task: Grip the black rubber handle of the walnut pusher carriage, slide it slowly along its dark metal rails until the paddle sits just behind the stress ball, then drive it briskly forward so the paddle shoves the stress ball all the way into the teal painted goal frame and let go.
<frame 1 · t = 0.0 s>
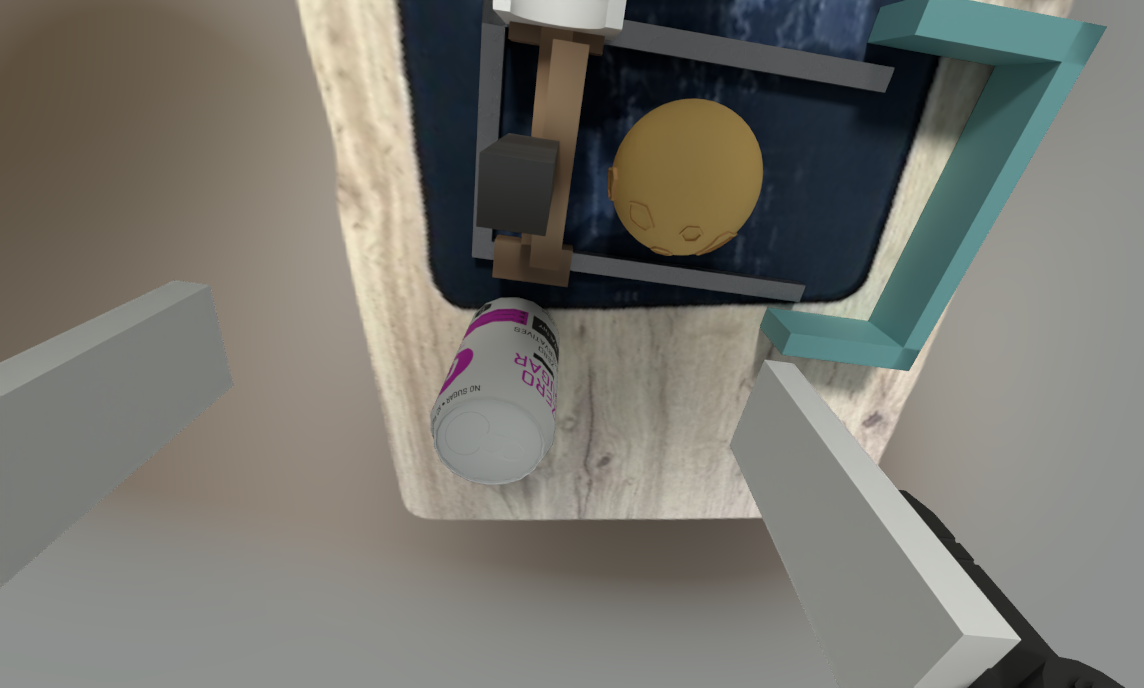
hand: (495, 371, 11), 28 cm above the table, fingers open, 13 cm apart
carriage: (538, 168, 27), point 9 cm above the table, slide at 0.0 cm
stress ball: (667, 169, 36), on the table
supplement can: (514, 334, 43), on the table
rails: (662, 169, 36), on the table
goal: (876, 202, 37), on the table
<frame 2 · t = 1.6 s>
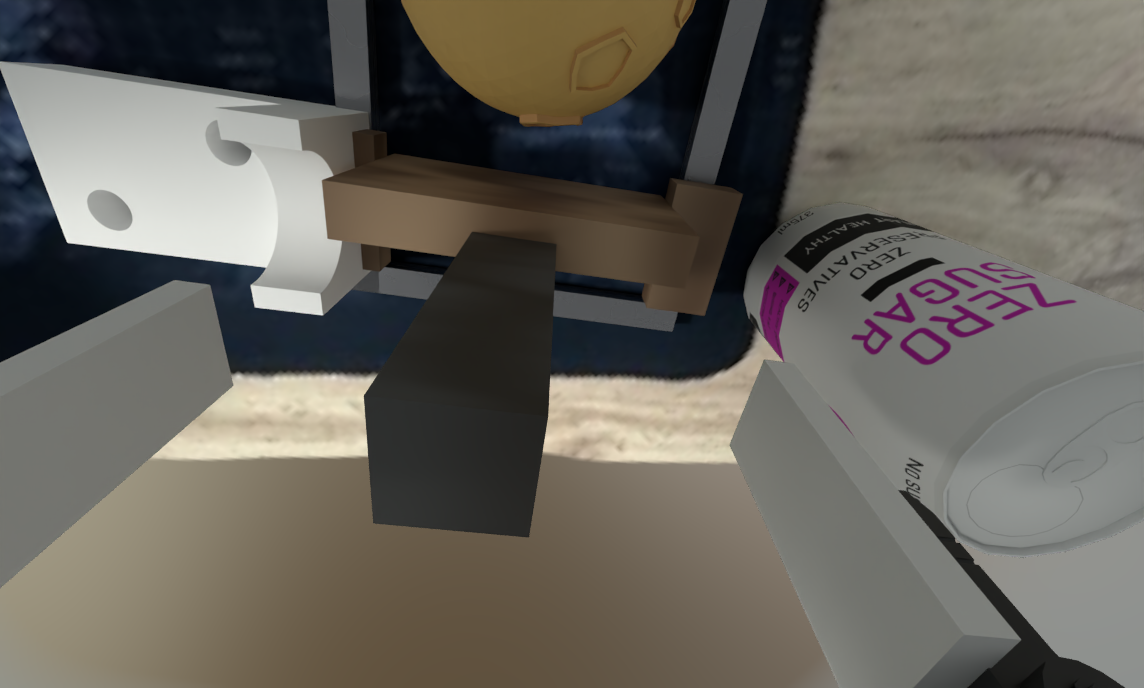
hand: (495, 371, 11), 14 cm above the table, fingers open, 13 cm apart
carriage: (508, 276, 16), point 9 cm above the table, slide at 0.0 cm
supplement can: (812, 274, 26), on the table
rails: (549, 0, 19), on the table
bracket: (251, 169, 23), on the table, touching rails
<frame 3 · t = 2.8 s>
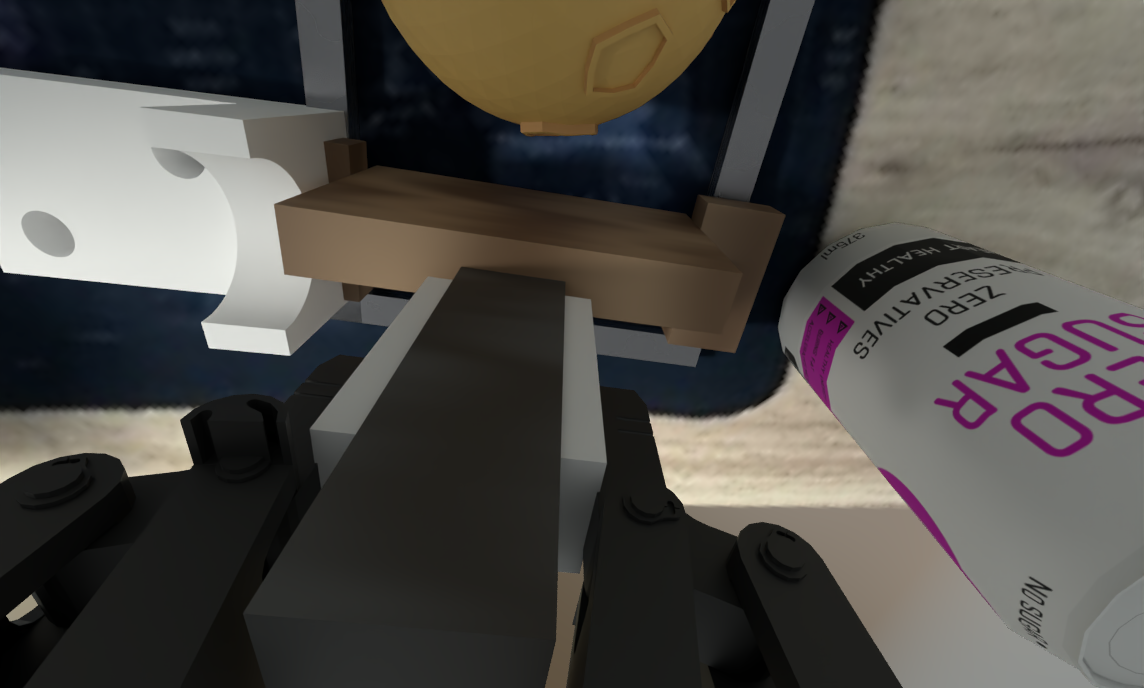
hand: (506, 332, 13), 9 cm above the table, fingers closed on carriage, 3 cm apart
carriage: (505, 324, 13), point 9 cm above the table, slide at 0.0 cm, touching gripper
supplement can: (857, 303, 22), on the table
bracket: (217, 181, 20), on the table, touching rails
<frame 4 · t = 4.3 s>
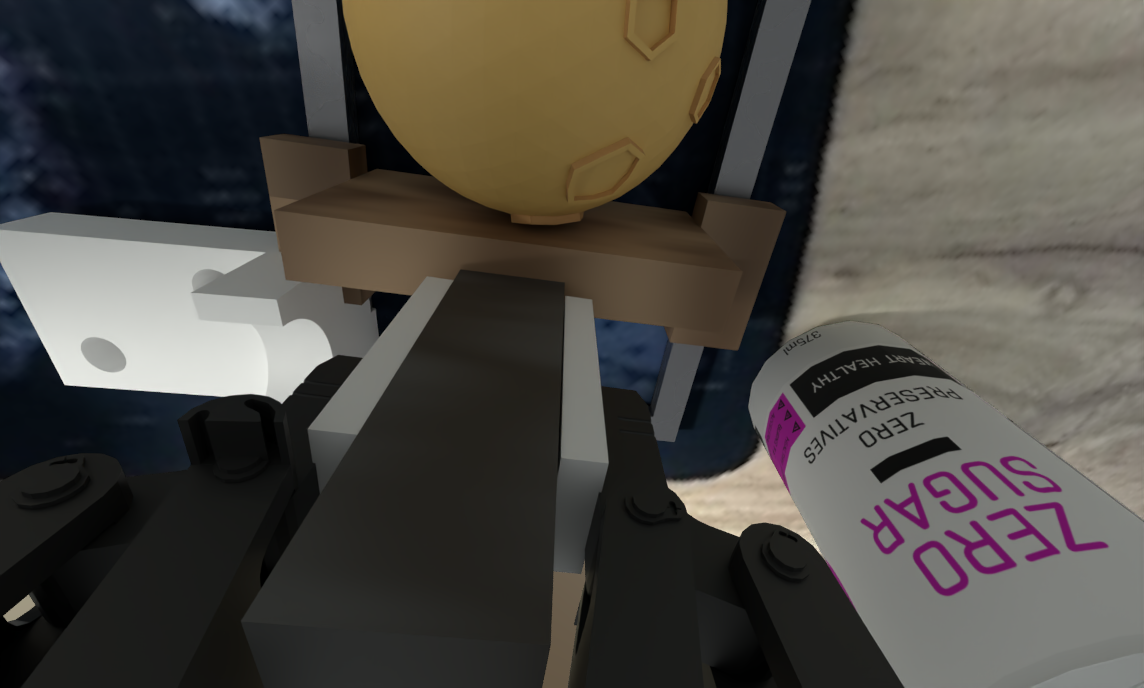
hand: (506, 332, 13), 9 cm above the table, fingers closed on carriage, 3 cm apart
carriage: (505, 326, 13), point 9 cm above the table, slide at 4.9 cm, touching gripper, stress ball
stress ball: (548, 51, 17), on the table, touching carriage
supplement can: (821, 382, 25), on the table
rails: (540, 135, 19), on the table
bracket: (245, 292, 23), on the table, touching rails
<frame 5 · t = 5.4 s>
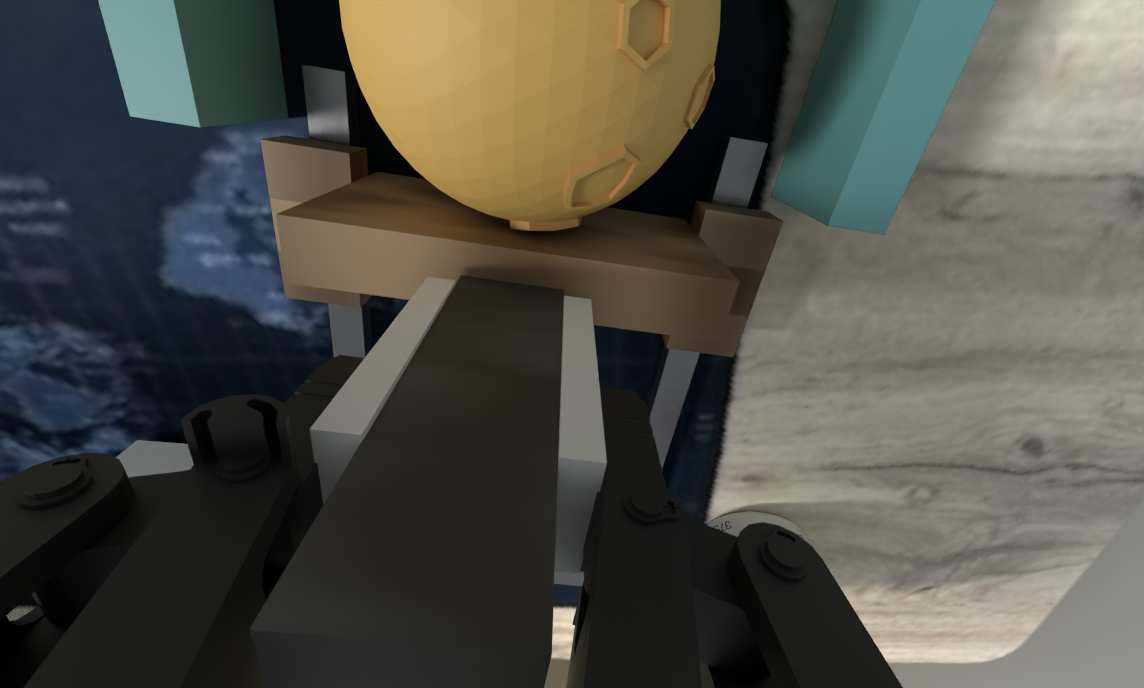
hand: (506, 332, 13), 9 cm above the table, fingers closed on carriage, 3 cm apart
carriage: (504, 332, 13), point 9 cm above the table, slide at 17.6 cm, touching gripper, stress ball
stress ball: (545, 57, 18), on the table, touching carriage
supplement can: (739, 545, 31), on the table
rails: (513, 395, 25), on the table
bracket: (282, 480, 29), on the table, touching rails
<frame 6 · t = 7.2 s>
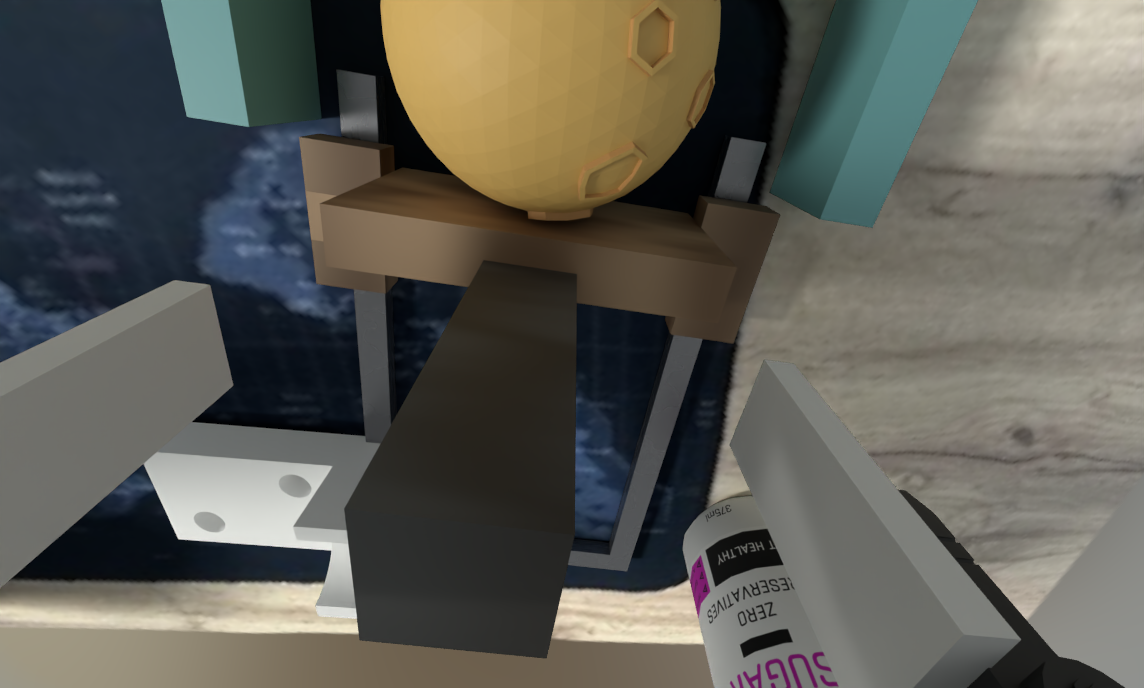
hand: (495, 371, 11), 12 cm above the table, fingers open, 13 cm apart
carriage: (523, 311, 14), point 9 cm above the table, slide at 17.6 cm, touching stress ball
stress ball: (559, 61, 19), on the table, touching carriage
supplement can: (739, 529, 32), on the table
rails: (524, 381, 26), on the table
bracket: (307, 461, 30), on the table, touching rails
goal: (571, 6, 18), on the table
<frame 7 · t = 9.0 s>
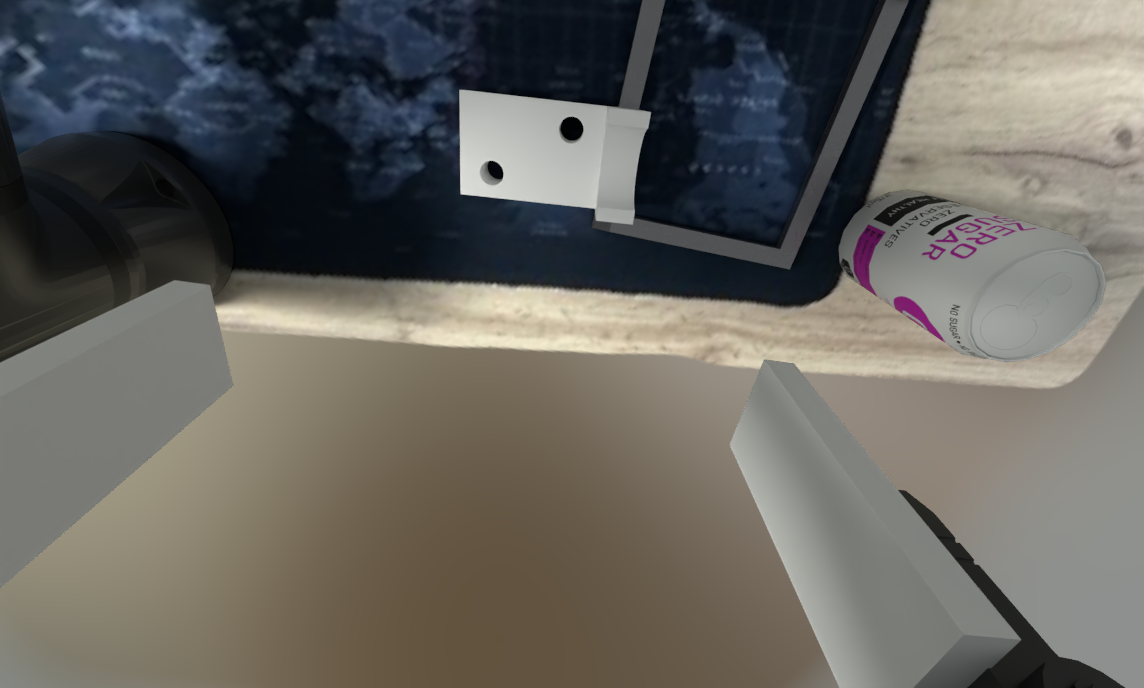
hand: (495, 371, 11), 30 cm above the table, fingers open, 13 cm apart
supplement can: (883, 237, 40), on the table
rails: (750, 61, 34), on the table
bracket: (551, 149, 38), on the table, touching rails
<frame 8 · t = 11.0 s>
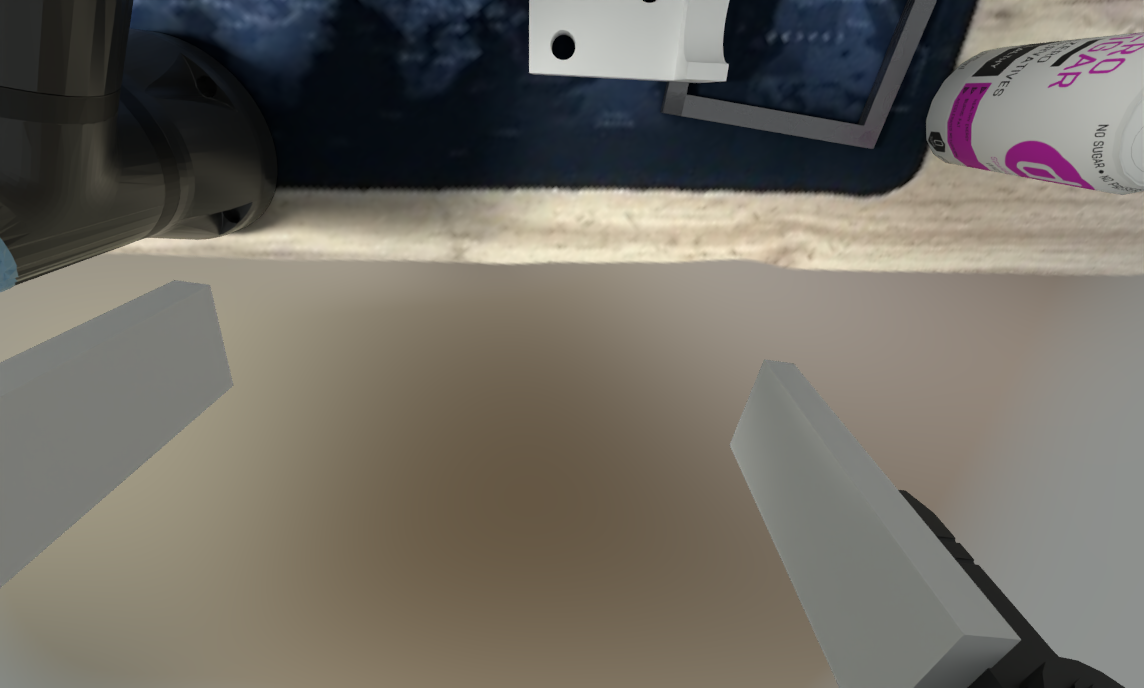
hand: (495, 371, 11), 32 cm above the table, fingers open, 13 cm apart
supplement can: (971, 109, 37), on the table
bracket: (619, 24, 35), on the table, touching rails
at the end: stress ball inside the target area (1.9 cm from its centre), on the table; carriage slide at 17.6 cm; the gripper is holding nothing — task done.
